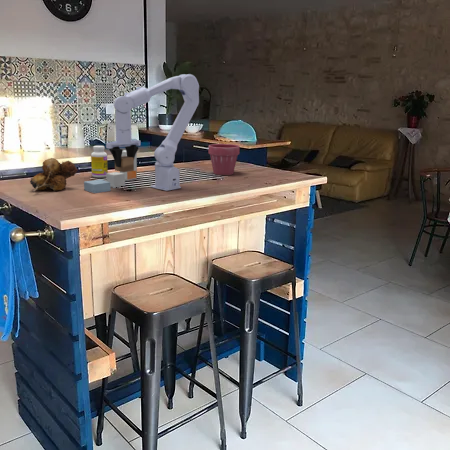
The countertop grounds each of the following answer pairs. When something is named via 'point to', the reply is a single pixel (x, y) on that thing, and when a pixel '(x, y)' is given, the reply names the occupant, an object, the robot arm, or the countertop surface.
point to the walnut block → (126, 164)
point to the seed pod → (53, 175)
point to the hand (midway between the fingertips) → (124, 166)
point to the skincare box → (130, 174)
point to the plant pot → (223, 158)
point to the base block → (97, 186)
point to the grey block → (115, 179)
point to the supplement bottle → (99, 162)
